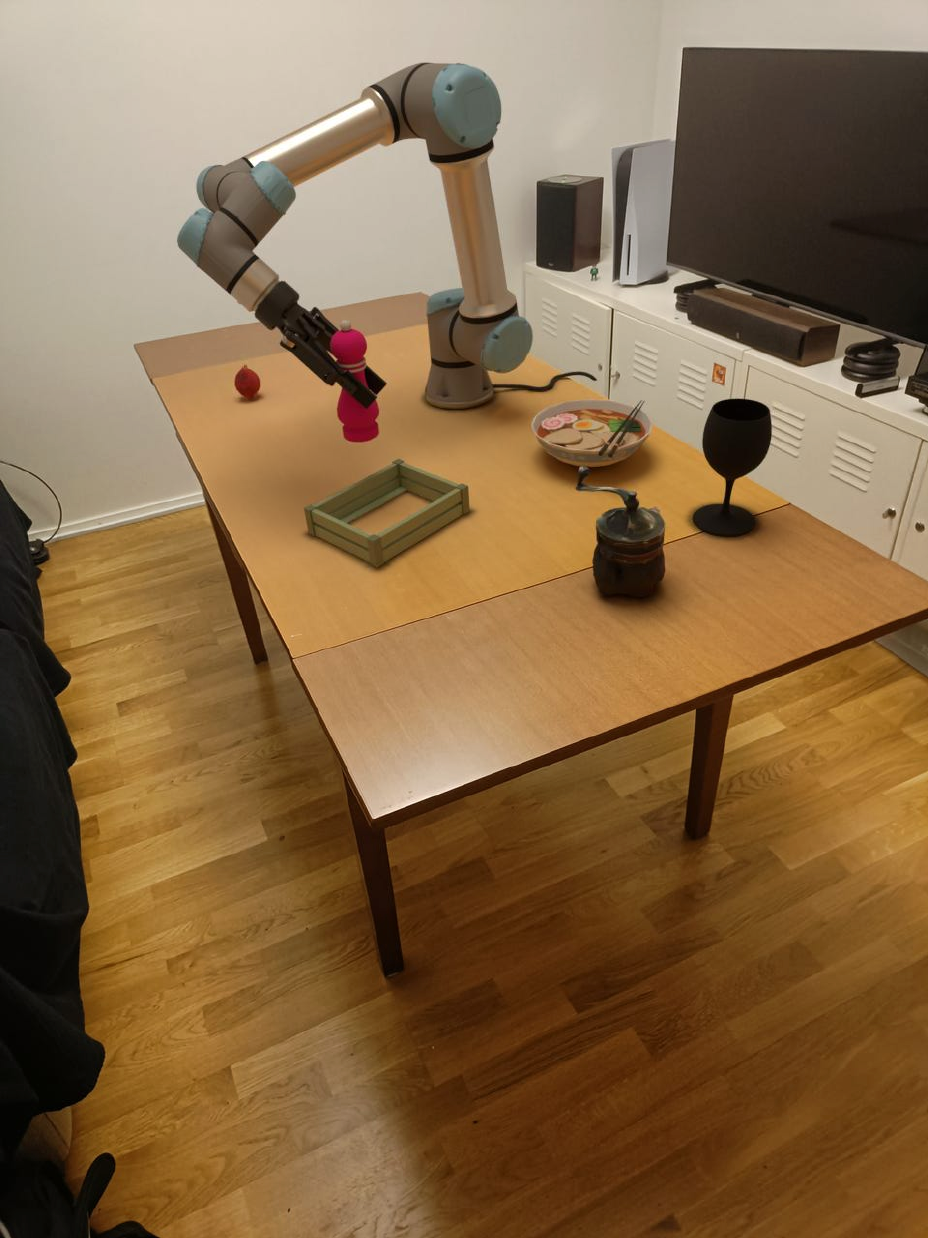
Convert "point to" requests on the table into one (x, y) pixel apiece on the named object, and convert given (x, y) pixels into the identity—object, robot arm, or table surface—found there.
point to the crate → (376, 490)
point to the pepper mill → (350, 357)
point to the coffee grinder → (627, 545)
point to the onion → (247, 382)
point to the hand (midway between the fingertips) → (376, 395)
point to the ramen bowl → (591, 431)
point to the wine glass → (733, 459)
